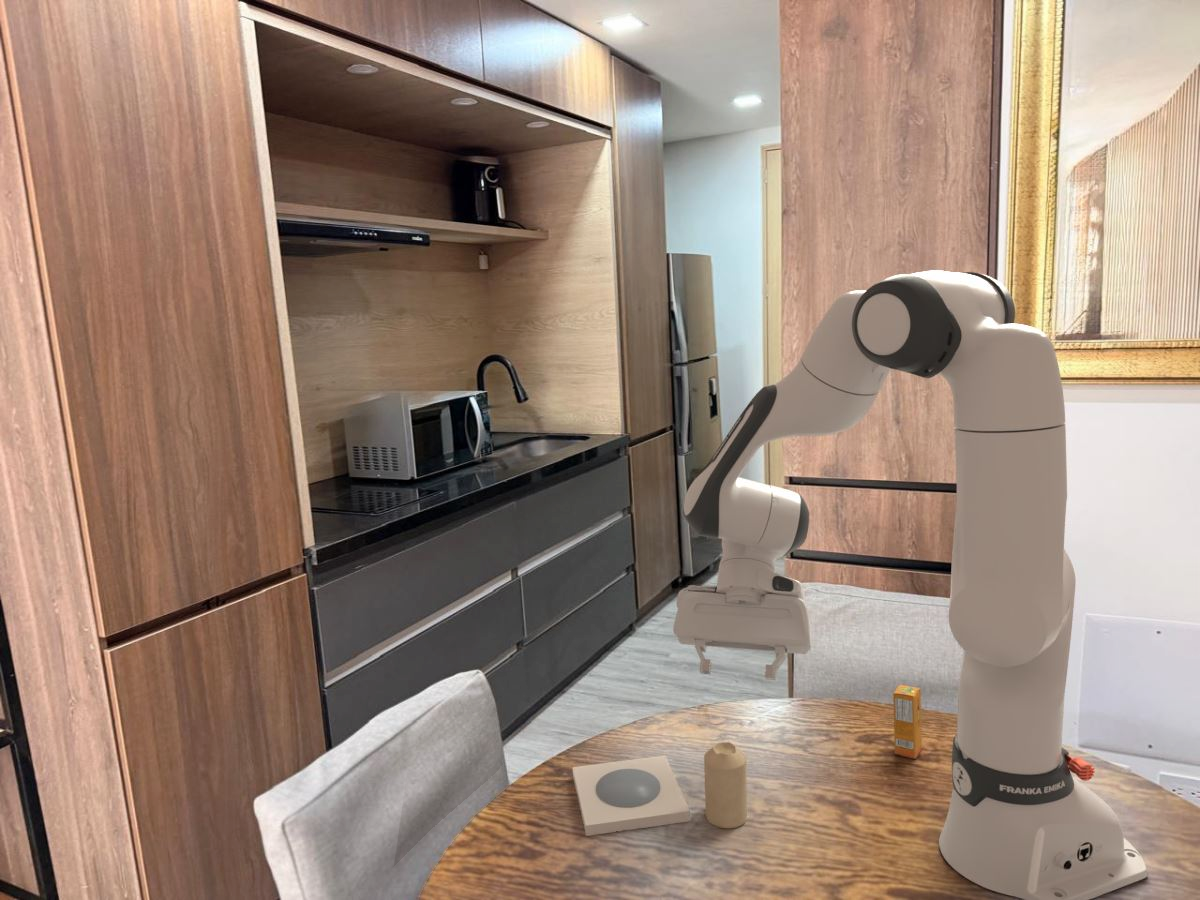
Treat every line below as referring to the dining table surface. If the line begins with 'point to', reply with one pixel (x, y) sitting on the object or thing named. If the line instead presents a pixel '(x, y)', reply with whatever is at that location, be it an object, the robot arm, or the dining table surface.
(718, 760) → the candle
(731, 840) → the dining table surface
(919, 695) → the supplement box
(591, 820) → the base board
